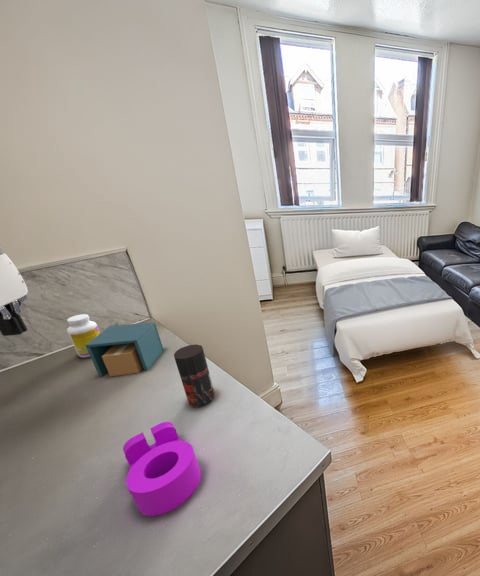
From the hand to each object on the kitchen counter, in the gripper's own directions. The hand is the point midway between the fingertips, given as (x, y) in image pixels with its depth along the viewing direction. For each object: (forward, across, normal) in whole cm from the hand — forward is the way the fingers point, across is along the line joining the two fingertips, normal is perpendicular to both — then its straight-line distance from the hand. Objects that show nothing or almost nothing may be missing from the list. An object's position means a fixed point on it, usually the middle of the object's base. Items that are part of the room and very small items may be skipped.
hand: (15, 333), depth 63 cm
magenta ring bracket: (+22, +25, +33) cm, 47 cm away
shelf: (+22, -18, +8) cm, 29 cm away
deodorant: (+22, +4, +34) cm, 40 cm away
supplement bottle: (+22, -26, -7) cm, 35 cm away
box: (+22, -15, +8) cm, 28 cm away
